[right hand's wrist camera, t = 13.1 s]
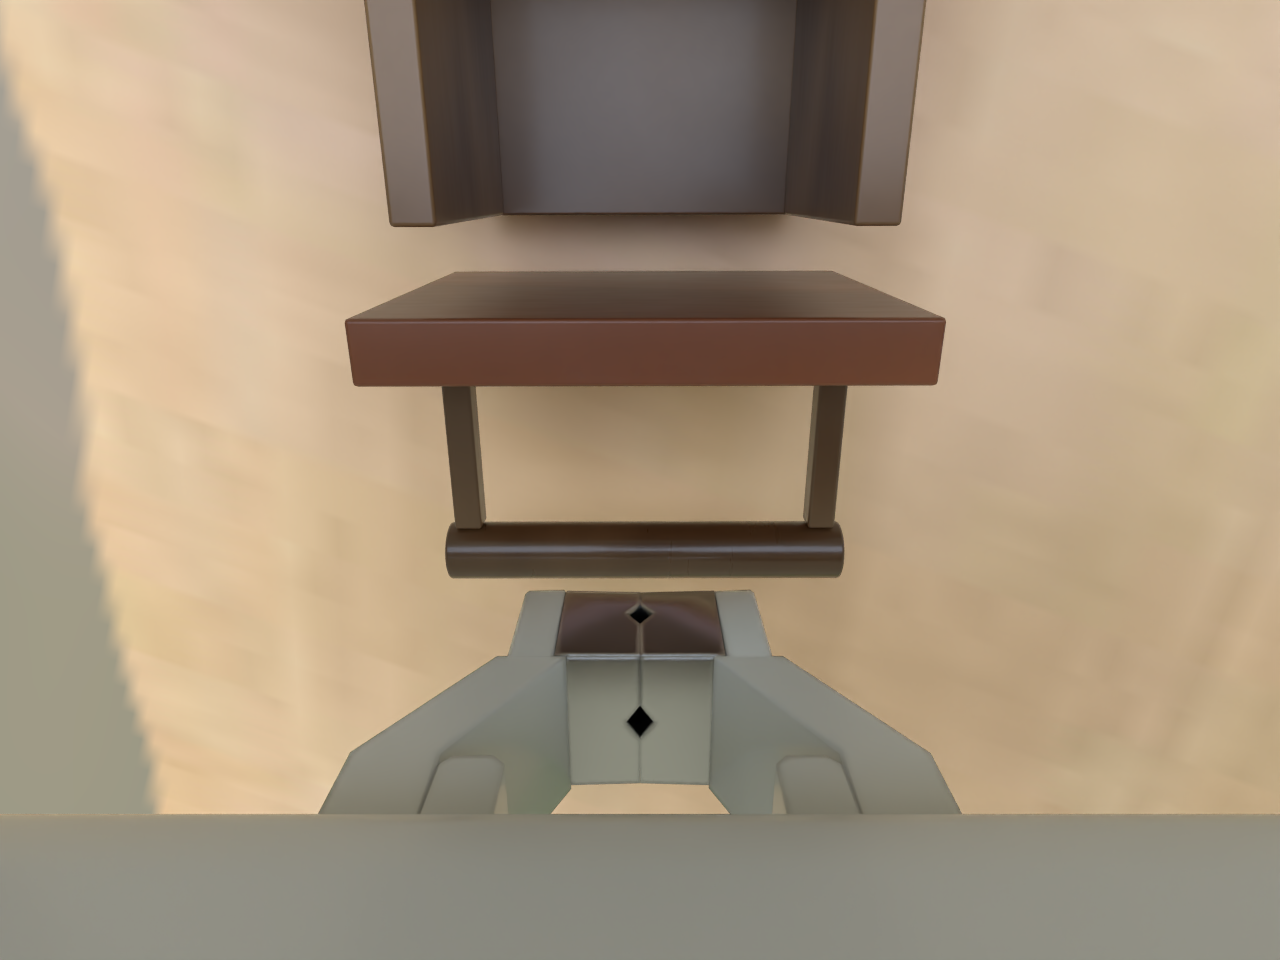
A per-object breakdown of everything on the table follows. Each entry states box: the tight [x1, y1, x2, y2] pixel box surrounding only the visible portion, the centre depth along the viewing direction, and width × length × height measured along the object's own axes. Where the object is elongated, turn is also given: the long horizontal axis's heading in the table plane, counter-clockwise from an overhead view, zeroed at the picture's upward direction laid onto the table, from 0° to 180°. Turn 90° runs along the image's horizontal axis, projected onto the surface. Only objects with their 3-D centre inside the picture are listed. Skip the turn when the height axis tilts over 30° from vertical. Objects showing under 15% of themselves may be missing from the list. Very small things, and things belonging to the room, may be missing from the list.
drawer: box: [345, 0, 946, 578], centre depth 15 cm, size 24×10×8 cm, turn 0°
